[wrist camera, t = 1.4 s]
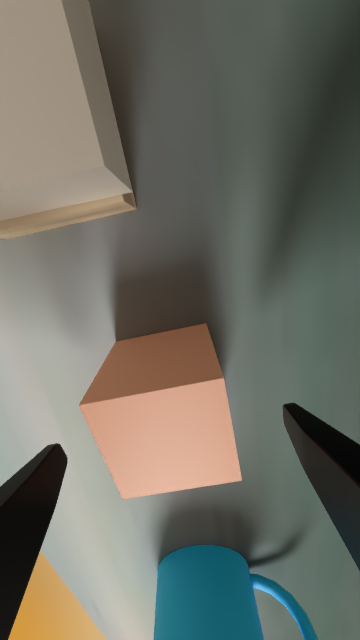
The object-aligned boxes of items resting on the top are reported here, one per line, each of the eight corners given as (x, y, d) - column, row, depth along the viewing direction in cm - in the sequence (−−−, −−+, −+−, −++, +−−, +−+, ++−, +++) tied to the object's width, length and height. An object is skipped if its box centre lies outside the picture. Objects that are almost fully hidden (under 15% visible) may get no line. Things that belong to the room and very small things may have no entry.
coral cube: (116, 340, 12) (78, 405, 8) (206, 322, 12) (223, 378, 7) (141, 411, 14) (122, 499, 9) (220, 397, 14) (242, 480, 9)
